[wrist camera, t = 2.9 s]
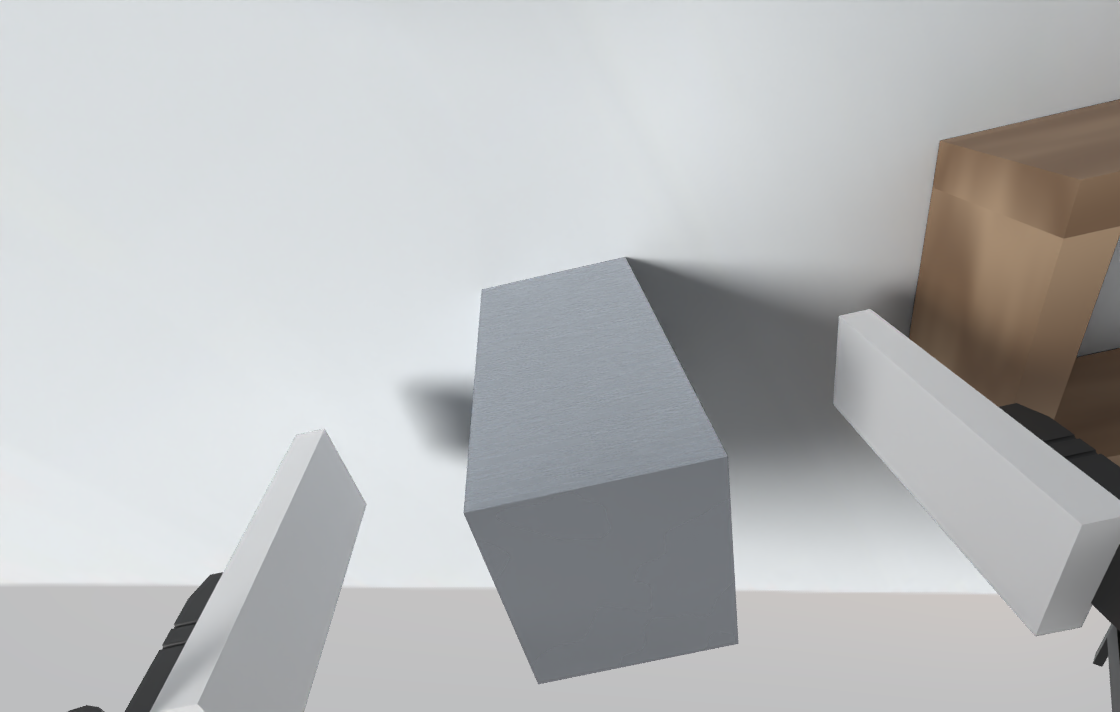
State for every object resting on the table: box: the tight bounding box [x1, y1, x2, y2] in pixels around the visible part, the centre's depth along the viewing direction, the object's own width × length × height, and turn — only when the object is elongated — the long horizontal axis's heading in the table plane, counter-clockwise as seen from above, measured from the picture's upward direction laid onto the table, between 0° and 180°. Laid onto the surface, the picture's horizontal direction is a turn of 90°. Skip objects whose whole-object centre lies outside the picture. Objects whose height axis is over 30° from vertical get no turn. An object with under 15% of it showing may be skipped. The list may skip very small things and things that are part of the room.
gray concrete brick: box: [464, 257, 738, 684], centre depth 13 cm, size 5×4×8 cm
